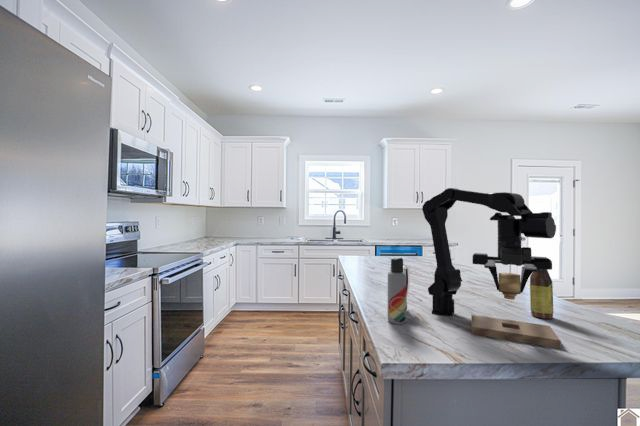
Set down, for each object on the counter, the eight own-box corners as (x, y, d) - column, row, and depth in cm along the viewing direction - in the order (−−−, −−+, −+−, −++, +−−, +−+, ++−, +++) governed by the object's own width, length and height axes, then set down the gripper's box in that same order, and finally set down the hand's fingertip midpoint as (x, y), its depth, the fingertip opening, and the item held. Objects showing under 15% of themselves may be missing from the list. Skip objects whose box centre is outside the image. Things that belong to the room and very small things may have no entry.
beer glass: (411, 308, 107) (412, 267, 107) (406, 313, 101) (406, 269, 101) (393, 305, 110) (393, 265, 111) (386, 310, 104) (386, 267, 105)
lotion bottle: (403, 325, 89) (403, 259, 90) (384, 322, 92) (385, 257, 93) (408, 320, 94) (408, 257, 95) (390, 317, 97) (391, 256, 98)
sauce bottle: (557, 320, 96) (557, 259, 96) (536, 319, 97) (535, 258, 98) (546, 314, 102) (546, 256, 103) (526, 312, 103) (526, 256, 104)
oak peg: (499, 299, 83) (499, 274, 83) (498, 295, 88) (498, 272, 88) (521, 301, 81) (521, 276, 81) (519, 297, 85) (519, 273, 85)
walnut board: (471, 333, 83) (471, 326, 84) (471, 321, 94) (471, 314, 94) (560, 348, 74) (560, 340, 74) (549, 332, 85) (549, 325, 85)
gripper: (472, 236, 82) (472, 292, 82) (556, 239, 73) (557, 302, 73) (472, 234, 92) (472, 285, 91) (547, 237, 83) (547, 293, 83)
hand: (509, 291), depth 84 cm, fingers closed on oak peg, 5 cm apart
